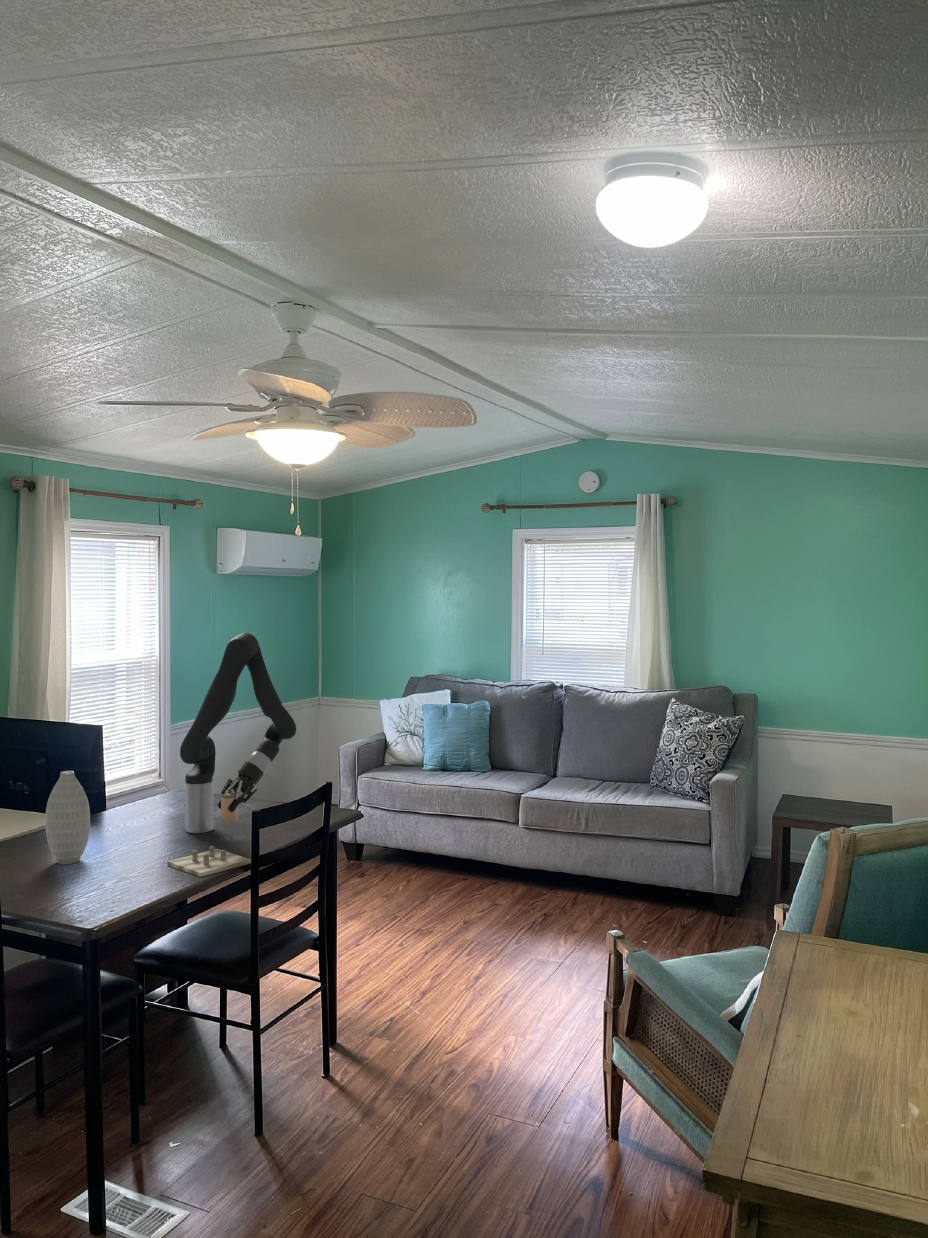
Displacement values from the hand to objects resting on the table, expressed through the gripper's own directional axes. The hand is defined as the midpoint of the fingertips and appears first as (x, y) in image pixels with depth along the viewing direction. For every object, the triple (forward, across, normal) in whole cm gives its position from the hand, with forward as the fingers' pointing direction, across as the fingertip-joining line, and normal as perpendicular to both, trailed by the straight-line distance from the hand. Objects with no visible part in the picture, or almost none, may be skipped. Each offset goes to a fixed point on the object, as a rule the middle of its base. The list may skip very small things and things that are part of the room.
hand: (224, 809), depth 297 cm
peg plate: (+19, +11, 0) cm, 22 cm away
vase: (+38, -25, -19) cm, 49 cm away
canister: (+2, 0, +4) cm, 5 cm away
